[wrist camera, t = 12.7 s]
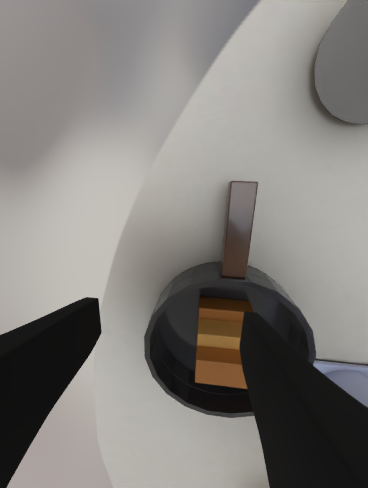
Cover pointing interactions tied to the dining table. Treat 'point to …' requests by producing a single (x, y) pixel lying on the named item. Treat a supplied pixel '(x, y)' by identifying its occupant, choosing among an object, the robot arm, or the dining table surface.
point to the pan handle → (238, 228)
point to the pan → (185, 334)
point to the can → (345, 64)
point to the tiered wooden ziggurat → (220, 342)
